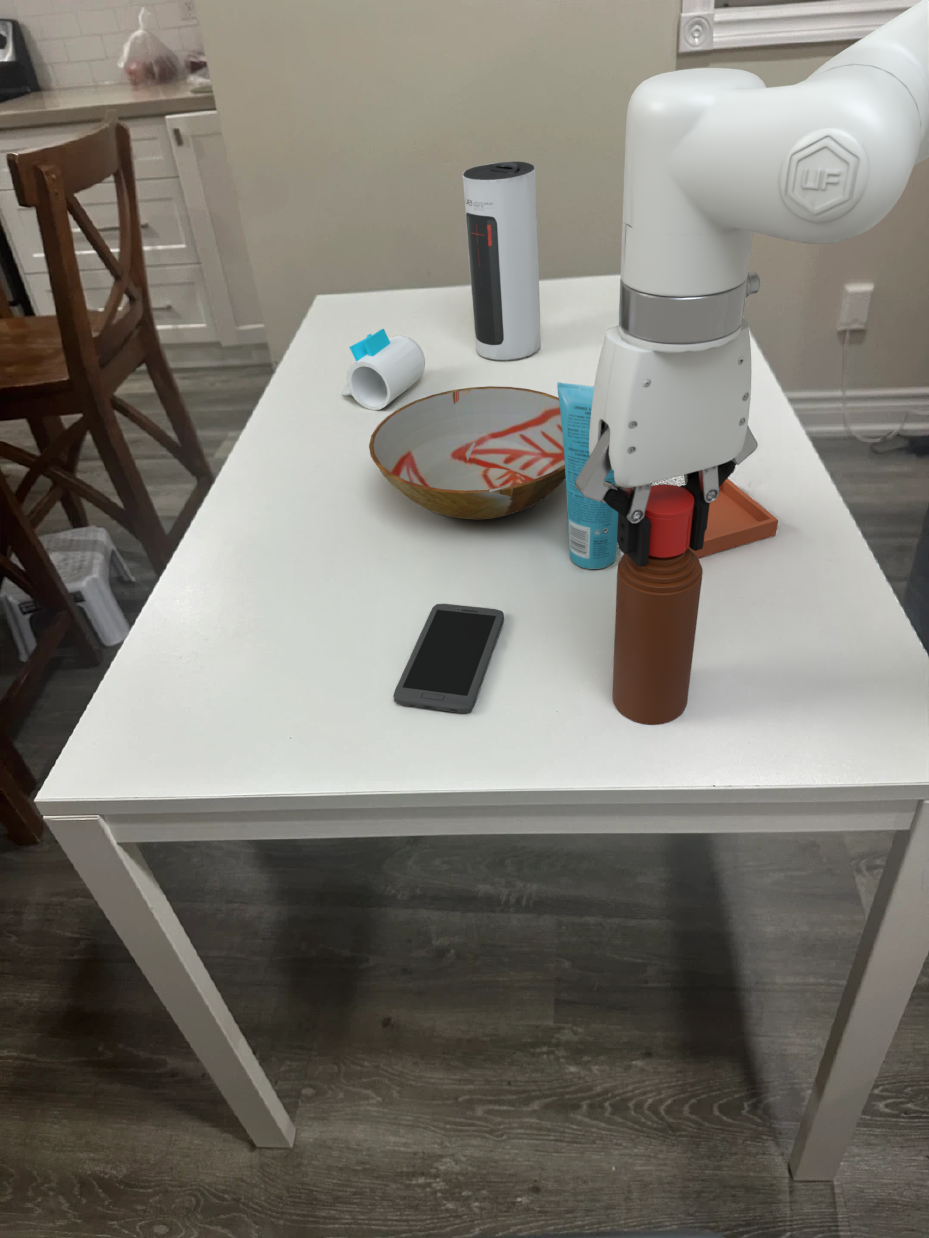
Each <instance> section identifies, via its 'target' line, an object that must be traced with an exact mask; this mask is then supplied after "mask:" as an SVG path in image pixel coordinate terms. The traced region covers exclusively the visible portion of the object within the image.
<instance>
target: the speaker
mask: <svg viewBox="0 0 929 1238" xmlns="http://www.w3.org/2000/svg"><path fill="white" fill-rule="evenodd" d="M462 184H463V185H462V186H463V199H464V211H465V224H466V225H465V226H466V238H467V250H468V263H469V264H468V265H469V276H470V289H471V301H472V314H473V327H474V339H475V351H476V353H477V354H478V355H479V356H480V357H482V358H483V359H486V360H490V361H496V362H498V361H499V362H507V361H518V360H523V359H525V358H527V359H528V358H530V357H532V356H534V355H535V354H537V353H538V352H539V351H540V349H541V346H542V335H541V332H542V331H541V304H540V303H541V299H540V270H539V268H540V267H539V244H538V243H539V239H538V208H537V204H538V203H537V177H536V166H535V165H533V164H532V163H529V162H525V161H503V162H493V163H485V164H480V165H477V166H473V167H470V168H468V169H465V170H464V171H463V172H462Z"/></svg>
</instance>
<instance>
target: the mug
mask: <svg viewBox="0 0 929 1238" xmlns="http://www.w3.org/2000/svg"><path fill="white" fill-rule="evenodd" d="M348 348H349V350H350V353H351V354H352V355H353V358H354V360H355V362H354V363H353V364H351V365H350V367H348V370H347V373H346V374H347V375H346V385H345V387H344V388H343V389H342V390H341V395H342V396H345V397H346V396H347V397H349V396H352V397H353V399H354V400H355V401H356V402H357V403H358V404H359V405H360V406H362V407H364V408H365V409H367V410H372V411H380V410H382V409H384V408H385V407H387V406H388V405H389V404H390V403H392V402H393V401H394V400H395V399H396V398H398V397H399V396H400V395H402V394H403V393H404V392H405V391H407V390H408V389H409V388H410V387H411V386H412V385H414V384H415V383H416V382H418V381H419V380H420V378H421V377H422V376H423V374H424V372H425V368H426V358H425V354H424V351H423V349H422V347H421V346H420V344H419V343H418V342H416V341H415V340H414V339H413V338H411V337H408V336H406V335H394V336H391V337H389V336H388V334H387V332H386V331H385V328H381V329H380V330H378V331H376V332H375V333H373V334H372V333H369V334H367V335H366V337H365V338H364V339H361V340H360V341H358V342H355V343H354V344H352V345H351V346H349V347H348Z"/></svg>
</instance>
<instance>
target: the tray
mask: <svg viewBox="0 0 929 1238" xmlns="http://www.w3.org/2000/svg"><path fill="white" fill-rule="evenodd" d="M778 525H779V519H778V518H777V517H776V516H775V515H773V513H771V512H770V511H769V510H767V509H766V508H765V507H764V506H762V505H761V504H760V503H759V502H757V501H756V500H755V499H754V498H753V497H751V496H750V495H749V494H748V493H747V492H745V491H744V490H743V489H741V487H739V486H738V485H737V484H735V483H734V482H733V481H732V480H731V479H729V477H728V478H727V479H726V480H725V482H724V483H723V484H722V485H721V486H720V487H719V495H718V497H717V499H716V500H715V501H713V502H711V503H710V506H709V514H708V522H707V529H706V531H705V535H704V544H703V548H702V549H700V550H697V551H695V550H692V549H691V548H690V547H688V548H689V549H690V550H691V551H692V552H693V553H694V554H695V555H696V556H697V557H698V559H700V558H703V557H707V556H710V555H714V554H717V553H720V552H723V551H728V550H730V549H735V548H737V547H741V546H744V545H748V544H751V543H754V542H759V541H760V540H761V541H762V540H765V539H769V538H771V537H772V538H773V537H775V536H776V535H777V532H778V531H777V530H778V527H779V526H778Z"/></svg>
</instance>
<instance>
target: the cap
mask: <svg viewBox="0 0 929 1238" xmlns="http://www.w3.org/2000/svg"><path fill="white" fill-rule="evenodd" d="M679 486H680V485H675V484H667V483H660V484H654V485H653V484H652V487H651V491H650V495H649V499H648V503H647V507H646V511H645V515H644V516H646V517H647V518H648V519H649V520H650V522H651V532H650V546H649V555H650V556H653V557H661V558H666V557H673V556H677V555H680V554H682V553H683V552H685V551H686V550H687V549H688V547H689V545H690V536H691V526H692V517H693V507H694V497H693V495H692V494H691V493H690V492H689V491H688V490H686V489H684V488H682V487H679Z"/></svg>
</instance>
